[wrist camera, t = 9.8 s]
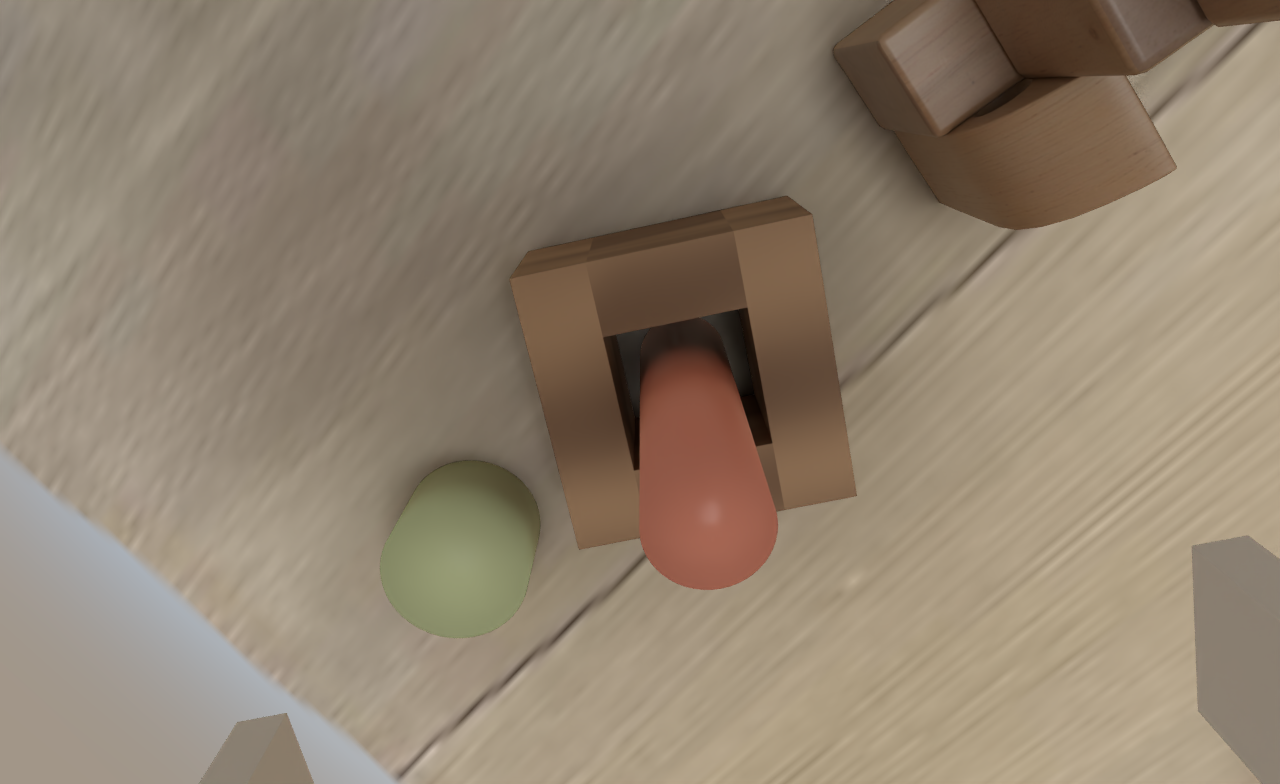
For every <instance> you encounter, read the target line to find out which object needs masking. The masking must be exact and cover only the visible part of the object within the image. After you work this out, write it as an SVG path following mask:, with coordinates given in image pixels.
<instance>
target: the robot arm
mask: <svg viewBox="0 0 1280 784" xmlns="http://www.w3.org/2000/svg"><path fill="white" fill-rule="evenodd" d="M1192 568H1193V594H1194V620H1195V646H1196V672H1197V698H1198V711H1199V713H1200V714H1201V715H1202V716H1203V717H1204V718H1205V719H1206V721H1207V722H1208V723H1209V724H1210V725H1211V726H1212V727H1213V729H1214V730H1215V731H1216V732H1217V733H1218V734H1219V735H1220V737H1221V738H1222V739H1223V740H1224V741H1225V742H1226V743H1227V744H1228V746H1229V747H1230V748H1231V749H1232V750H1233V751H1234V752H1235V754H1236V755H1237V756H1238V757H1239V758H1240V759H1241V760H1242V762H1243V763H1244V764H1245V765H1246V766H1247V767H1248V768H1249V770H1250V771H1251V772H1252V773H1253V774H1254V775H1255V776H1256V778H1257V779H1258V780H1259V781H1260V782H1261V783H1262V784H1280V559H1279V558H1277V557H1276V556H1275V555H1273V554H1272V553H1271V552H1269V551H1268V550H1267V549H1265V548H1264V547H1263V546H1261V545H1260V544H1259V543H1258V542H1256V541H1255V540H1254V539H1252V538H1251V537H1250V536H1242V537H1237V538H1231V539H1226V540H1220V541H1215V542H1210V543H1204V544H1199V545H1193V546H1192ZM199 784H314V782H313V780H312V777H311V774H310V772H309V769H308V767H307V764H306V762H305V759H304V756H303V754H302V751H301V749H300V746H299V744H298V741H297V739H296V736H295V734H294V731H293V728H292V726H291V723H290V721H289V718H288V716H287V713H284V714H279V715H274V716H268V717H262V718H257V719H252V720H246V721H241V722H237V723H236V725H235V727H234V728H233V730H232V731H231V733H230V735H229V736H228V738H227V739H226V741H225V743H224V744H223V746H222V748H221V749H220V751H219V752H218V754H217V756H216V757H215V759H214V760H213V762H212V763H211V765H210V767H209V768H208V770H207V772H206V773H205V775H204V776H203V778H202V780H201V781H200V783H199Z"/></svg>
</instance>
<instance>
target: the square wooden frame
mask: <svg viewBox="0 0 1280 784" xmlns="http://www.w3.org/2000/svg"><path fill="white" fill-rule="evenodd" d="M509 280H510V284H511V288H512V291H513V295H514V299H515V303H516V307H517V311H518V315H519V319H520V323H521V326H522V330H523V334H524V338H525V342H526V346H527V350H528V354H529V357H530V361H531V365H532V369H533V373H534V377H535V381H536V385H537V388H538V392H539V396H540V400H541V404H542V408H543V412H544V416H545V420H546V423H547V427H548V431H549V435H550V439H551V443H552V447H553V451H554V454H555V458H556V462H557V466H558V470H559V474H560V478H561V482H562V485H563V489H564V493H565V497H566V501H567V505H568V509H569V513H570V517H571V520H572V524H573V528H574V532H575V536H576V540H577V544H578V548H579V550H580V549H585V548H590V547H596V546H601V545H606V544H611V543H616V542H621V541H627V540H632V539H637V538H640V533H639V490H640V418H635V417H634V412H633V408H632V403H631V399H630V395H629V390H628V386H627V382H626V377H625V373H624V368H623V364H622V360H621V355H620V351H619V346H618V342H617V338H616V335H617V334H622V333H626V332H631V331H636V330H641V329H646V328H650V327H655V326H660V325H665V324H670V323H675V322H679V321H684V320H689V319H694V318H699V317H703V316H708V315H713V314H718V313H723V312H727V311H732V310H737V309H739V314H740V319H741V325H742V330H743V335H744V341H745V346H746V351H747V357H748V362H749V367H750V373H751V378H752V383H753V389H754V395H749V396H744V397H740V399H741V402H742V405H743V408H744V411H745V414H746V417H747V421H748V424H749V427H750V430H751V433H752V436H753V439H754V443H755V446H756V449H757V452H758V455H759V458H760V462H761V465H762V468H763V471H764V474H765V477H766V480H767V484H768V487H769V490H770V493H771V496H772V499H773V502H774V506H775V509H776V511H782V510H787V509H792V508H797V507H802V506H807V505H813V504H818V503H823V502H828V501H833V500H839V499H844V498H849V497H854V496H857V494H856V487H855V481H854V475H853V468H852V462H851V456H850V450H849V443H848V437H847V431H846V424H845V418H844V412H843V405H842V399H841V393H840V386H839V380H838V374H837V367H836V361H835V355H834V348H833V342H832V336H831V330H830V323H829V317H828V311H827V304H826V298H825V292H824V285H823V279H822V273H821V266H820V260H819V254H818V247H817V241H816V235H815V229H814V222H813V216H812V214H811V213H810V212H808V211H807V210H806V209H804V208H803V207H802V206H800V205H799V204H798V203H796V202H795V201H793V200H792V199H791V198H789V197H788V196H784V197H779V198H775V199H770V200H765V201H761V202H756V203H751V204H747V205H742V206H737V207H733V208H728V209H724V210H719V211H714V212H710V213H705V214H700V215H696V216H691V217H686V218H682V219H677V220H672V221H668V222H663V223H658V224H654V225H649V226H644V227H640V228H635V229H630V230H626V231H621V232H616V233H612V234H607V235H602V236H598V237H593V238H588V239H584V240H579V241H574V242H570V243H565V244H561V245H556V246H551V247H547V248H542V249H537V250H533V251H528V253H527V254H526V256H525V257H524V258H523V260H522V261H521V263H520V264H519V266H518V267H517V269H516V270H515V271H514V273H513V274H512V276H511V277H510V279H509Z"/></svg>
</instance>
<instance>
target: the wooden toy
mask: <svg viewBox="0 0 1280 784" xmlns="http://www.w3.org/2000/svg"><path fill="white" fill-rule="evenodd" d="M1279 20H1280V0H894V1H893V2H891V3H890V4H889V5H887V6H886V7H885V8H884V9H882V10H881V11H880V12H878V13H877V14H876V15H874V16H873V17H872V18H870V19H869V20H868V21H866V22H865V23H864V24H862V25H861V26H860V27H858V28H857V29H856V30H854V31H853V32H852V33H851V34H849V35H848V36H847V37H845V38H844V39H843V40H841V41H840V42H839V43H837V44H836V46H835V47H834V49H833V51H834V56H835V58H836V59H837V61H838V62H839V64H840V65H841V67H842V68H843V70H844V72H845V73H846V75H847V76H848V78H849V79H850V81H851V82H852V84H853V85H854V87H855V89H856V90H857V92H858V93H859V95H860V96H861V98H862V99H863V101H864V102H865V104H866V106H867V107H868V109H869V110H870V112H871V113H872V115H873V116H874V118H875V119H876V121H877V123H878V124H879V126H881V127H882V128H884V129H889V130H894V132H895V134H896V135H897V137H898V138H899V140H900V142H901V143H902V145H903V146H904V148H905V149H906V151H907V153H908V154H909V156H910V157H911V159H912V161H913V162H914V164H915V165H916V167H917V168H918V170H919V171H920V173H921V174H922V176H923V178H924V179H925V181H926V182H927V184H928V185H929V187H930V188H931V190H932V191H933V193H934V194H935V196H936V197H937V199H938V200H939V202H940V203H942V204H944V205H946V206H949V207H951V208H954V209H956V210H958V211H961V212H963V213H966V214H968V215H971V216H973V217H976V218H978V219H981V220H983V221H986V222H988V223H990V224H993V225H995V226H998V227H1002V228H1008V229H1014V230H1021V229H1029V228H1037V227H1043V226H1047V225H1050V224H1054V223H1057V222H1061V221H1064V220H1067V219H1071V218H1074V217H1076V216H1079V215H1081V214H1084V213H1086V212H1089V211H1091V210H1094V209H1096V208H1099V207H1101V206H1104V205H1106V204H1109V203H1111V202H1113V201H1115V200H1117V199H1120V198H1122V197H1124V196H1126V195H1128V194H1130V193H1133V192H1135V191H1137V190H1139V189H1141V188H1143V187H1145V186H1147V185H1149V184H1151V183H1153V182H1155V181H1157V180H1159V179H1161V178H1162V177H1164V176H1166V175H1167V174H1169V173H1171V172H1172V171H1174V170H1175V169H1176V168H1177V166H1176V164H1175V162H1174V161H1173V159H1172V157H1171V155H1170V153H1169V151H1168V150H1167V148H1166V146H1165V144H1164V142H1163V141H1162V139H1161V137H1160V135H1159V133H1158V131H1157V130H1156V128H1155V126H1154V124H1153V122H1152V121H1151V119H1150V117H1149V115H1148V113H1147V112H1146V110H1145V108H1144V106H1143V105H1142V103H1141V101H1140V99H1139V98H1138V96H1137V94H1136V92H1135V91H1134V89H1133V87H1132V86H1131V84H1130V82H1129V80H1128V79H1127V77H1126V75H1137V74H1141V73H1145V72H1147V71H1149V70H1150V69H1152V68H1153V67H1155V66H1156V65H1157V64H1159V63H1160V62H1162V61H1163V60H1165V59H1166V58H1167V57H1169V56H1170V55H1172V54H1173V53H1175V52H1176V51H1177V50H1179V49H1180V48H1182V47H1183V46H1185V45H1186V44H1187V43H1189V42H1190V41H1192V40H1193V39H1194V38H1196V37H1197V36H1199V35H1200V34H1202V33H1203V32H1204V31H1206V30H1207V29H1209V28H1210V27H1212V26H1213V25H1216V26H1218V27H1223V26H1233V25H1242V24H1251V23H1261V22H1270V21H1279Z"/></svg>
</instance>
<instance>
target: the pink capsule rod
mask: <svg viewBox="0 0 1280 784" xmlns="http://www.w3.org/2000/svg"><path fill="white" fill-rule="evenodd" d="M777 532H778V520H777V513H776V509H775V506H774V502H773V499H772V496H771V493H770V490H769V487H768V484H767V480H766V477H765V474H764V471H763V468H762V465H761V462H760V458H759V455H758V452H757V449H756V446H755V443H754V439H753V436H752V433H751V430H750V427H749V424H748V421H747V417H746V414H745V411H744V408H743V405H742V402H741V399H740V395H739V392H738V389H737V386H736V383H735V380H734V376H733V373H732V370H731V367H730V364H729V361H728V358H727V354H726V351H725V348H724V345H723V342H722V340H721V337H720V335H719V334H718V332H717V331H716V330H715V328H714V327H713V326H712V325H710V324H709V323H708V322H707V321H705V320H703V319H701V318H694V319H689V320H684V321H679V322H675V323H670V324H665V325H660V326H655V327H652V328H651V329H650V330H649V332H648V333H647V334H646V336H645V338H644V340H643V343H642V346H641V352H640V490H639V533H640V540H641V544H642V547H643V550H644V552H645V554H646V556H647V558H648V559H649V561H650V562H651V564H652V565H653V566H654V567H655V568H656V569H657V570H658V571H659V572H660V573H661V574H662V575H664V576H665V577H667V578H668V579H669V580H671V581H673V582H675V583H677V584H680V585H683V586H685V587H689V588H693V589H702V590H713V589H721V588H725V587H729V586H732V585H735V584H737V583H739V582H741V581H743V580H745V579H747V578H748V577H750V576H751V575H753V574H754V573H755V572H756V571H757V570H758V569H759V568H760V567H761V566H762V565H763V564H764V563H765V561H766V560H767V559H768V557H769V556H770V554H771V552H772V550H773V547H774V545H775V542H776V537H777Z"/></svg>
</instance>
